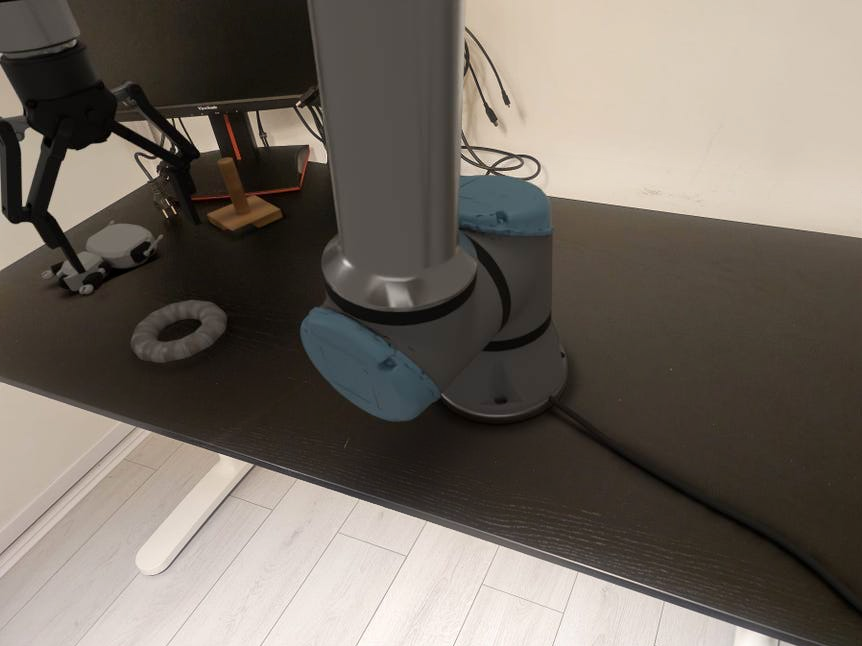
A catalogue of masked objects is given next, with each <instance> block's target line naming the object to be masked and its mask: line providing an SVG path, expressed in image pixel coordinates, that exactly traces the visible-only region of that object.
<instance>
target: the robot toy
mask: <svg viewBox="0 0 862 646" xmlns="http://www.w3.org/2000/svg"><path fill="white" fill-rule="evenodd" d="M163 238H164V234H160V235H159V236H158V237H157V239H155V238H154V236H153V233H152V232H151V231H150V230H148V229H147V228H145V227H143V226H141V225H137V224H130V223H115V220H111V221H110V222H109V224H108V225H107V226H106V227H103V228H102V229H101V230H100V231H98V232H96V233H95V234H93V235H91V236H90V237H88V238H87V242H86V244H85V249H86V251H85V250H83V251H81V252H79V253H76V255H77V256H78V258H79V260H80V261H81V263H82V265H83V266H84V268H85V270H86V272H85V273H82V274H80V275H79V274H78V272H77V271H76V270H75V269H74V268H73V267H72V266H71V264H70V263H69V261H68V259H67V260H63V261H60V262H57V263H55V264H52V265H50V269H48V270H44V271H43V272H42V273H41V277H42V279H43V280H44V281H49V280H52V279H53V278H54V277H56V278H57V279H58V280H57V283H58V285H59V287H60V288H61V289H63V290H67V291H68V290H71V292H77V291H79V292H78V293H79V294H81V295H90V294H91V293H92V292H94V290H99V288H100V287H101V286H102V285H103V284H104V279H105V278H106V277H107V276H109V274H110V272H111V270H112V269H130V268H134V267H137V266H141V265H143V264H145V263H146V262H147V261H148V260H149V258H150V257H151V256H154V254H155V253H156V251H157V249H158V243H159V242H160V240H162V239H163Z"/></svg>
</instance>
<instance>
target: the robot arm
mask: <svg viewBox="0 0 862 646" xmlns="http://www.w3.org/2000/svg"><path fill="white" fill-rule="evenodd" d="M306 4H307V11H308V12H307V13H308V19H309V26H310V27H309V28H310V34H311V41H312V49H313V55H314V56H313V57H314V64H315V71H316V79H317V85H318V93H319V94H318V95H319V101H320V107H321V113H322V114H321V115H322V122H323V129H324V137H325V144H326V145H325V146H326V151H327V159H328V160H327V161H328V167H329V172H330V174H329V175H330V181H331V189H332V195H333V196H332V197H333V203H334V204H333V205H334V211H335V219H336V224H337V226H336V227H337V233H336V234H335V235H333V237H332V238H331V239H330V240H329V241H328V242H327V244H326V246H325V247H324V250H323V252H322V256H321V271H322V277H323V285H324V290H325V300H324V301H323V303H322V304H321V305H320V306H314V307H313V308H312V309H311V310H310V311H309V312H308V315H307V316H306V317H304V319H303V321H302V322H301V325H300V328H299V329H300V330H299V332H300V339H301V343H302V346H303V348H304V350H305V352H306V354H307V356H308V358H309V360H310V361H311V363H312V365H314V367H315V368H316V370H317V371H318V372H319V373H320V375H321V376H322V377H323V378H324V379H325V380H326V381H327V382H328V383H329V385H331V386H332V387H333V389H335V390H336V392H338V393H339V394H340V395H342V397H344V398H345V399H347V400H348V401H349V402H350V403H351V404H353V405H355V407H358V408H359V409H361V410H362V411H364V412H365V413H367V414H370V415H372V416H374V417H375V418H378V419H381V420H385V421H389V422H393V423H395V422H397V423H398V422H409V421H412V420H413V419H415V418H417V417H419V416H420V415H421V414H422V413H423V412H424V411H425V410H426V409H427V408H428V407H429V406H430V405H431V404H432V403H436V402H437V401H439V400H440V401H441V402H442V403H443V405H444V406H445V407H447V408H448V409H449V410H450V411H451V412H453V413H455V414H456V415H458V416H460V417H461V418H464V419H467V420H470V421H473V422H477V423H478V422H479V423H481V424H494V425H496V424H497V425H500V424H501V425H502V424H503V425H504V424H512V423H518V422H521V421H525V420H529V419H531V418H534V417H536V416H538V415H540V414H542V413H543V412H545V411H547V410H548V409H549V408H551V407H553V406H554V407H555V408H557V409H558V410H560V411H561V412H562V413H564V414H565V415H566V416H567V417H569V418H571V419H572V420H574V421H575V422H576V423H578V424H579V425H580V426H581V427H583V428H584V429H585V430H587V432H589V433H591V434H592V435H593V436H594V437H596V438H597V439H599V440H600V441H601V442H603V443H604V444H605V445H607V446H608V447H610V448H611V449H612V450H614V451H616V452H617V453H618V454H620V455H621V456H623V457H624V458H626V459H628V460H629V461H631V462H632V463H634V464H636V465H638V466H639V467H641V468H642V469H644V470H646V471H647V472H649V473H651V474H653V475H654V476H656V477H657V478H659V479H661V480H663V481H665V482H667V483H668V484H670V485H671V486H673V487H675V488H677V489H679V490H681V491H682V492H684V493H686V494H688V495H689V496H691V497H692V498H694V499H696V500H698V501H700V502H702V503H703V504H705V505H707V506H708V507H711V508H713V509H715V510H716V511H718V512H720V513H722V514H723V515H727V516H729V517H730V518H732V519H734V520H735V521H738V522H740V523H742V524H744V525H745V526H748V527H750V528H752V529H753V530H755V531H757V532H758V533H760V534H762V535H764V536H766V537H767V538H769V539H770V540H772V541H773V542H776V543H777V544H778V545H780V546H781V547H782V548H784V549H785V550H787V551H789V552H790V553H792V554H793V555H794V556H796V557H797V558H799V559H800V560H801V561H803V562H804V563H805V564H806V565H808V567H810V568H811V569H813V571H815V572H816V573H817V574H818V575H819V576H820V577H822V578H823V579H824V580H825V581H826V582H827V583H828V584H829V585H830V586H831V587H832V588H833V589H835V591H837V592H838V593H839V594H840V595H841V596H842V597H844V599H846V600H847V601H848V602H849V603H850V604H851V605H853V606H854V607H855V608H856V609H857V610H858V611H860V612H861V613H862V599H861V598H860V597H859V596H858V595H857V594H855V593H854V592H853V591H852V590H851V589H850V588H849V587H847V586H846V584H844V583H843V582H842V581H841V580H840V579H839V578H838V577H836V576H835V575H834V574H833V573H832V572H831V571H830V570H829V569H828V568H826V567H825V566H824V565H823V564H821V562H819V561H818V560H817V559H816V558H814V557H813V556H812V555H811V554H809V553H807V552H806V551H805V550H804V549H803V548H801V547H799V545H797V544H795V543H794V542H793V541H791V540H790V539H788V538H786V537H785V536H783V535H781V534H780V533H779V532H777V531H775V530H773V529H771V528H770V527H768V526H766V525H765V524H763V523H761V522H759V521H757V520H756V519H754V518H752V517H750V516H748V515H746V514H744V513H742V512H740V511H738V510H737V509H734V508H732V507H731V506H728V505H726V504H724V503H722V502H721V501H719V500H717V499H714V498H712V497H711V496H709V495H707V494H705V493H704V492H702V491H700V490H698V489H696V488H694V487H693V486H691V485H689V484H687V483H686V482H684V481H682V480H680V479H679V478H677V477H675V476H674V475H671V474H669V473H668V472H666V471H664V470H662V469H661V468H659V467H657V466H655V465H654V464H652V463H650V462H649V461H647V460H645V459H644V458H642V457H640V456H638V455H637V454H635V453H633V452H632V451H630V450H629V449H628V448H626V447H624V446H623V445H621V444H619V443H618V442H616V441H615V440H614V439H612V438H611V437H609V436H608V435H606V434H605V433H604V432H602V431H601V430H600V429H598V428H597V427H596V426H594V425H593V424H592V423H591V422H589V421H588V420H587V419H586V418H584V417H583V416H581V415H580V414H578V413H577V412H576V411H575V410H573V409H572V408H570V407H569V406H567V405H566V404H565V403H563V402H562V401H560V400H559V399H560V398H561V396H562V395H563V393H564V391H565V389H566V387H567V383H568V373H569V370H568V369H569V363H568V358H567V353H566V351H565V348H564V346H563V344H562V342H561V340H560V337H559V334H558V331H557V328H556V326H555V323H554V321H553V319H552V318H553V317H552V310H553V309H552V307H553V303H552V302H553V243H554V242H553V239H554V238H553V235H554V233H555V225H554V224H553V217H552V213H553V212H552V203H551V200H550V197H549V196H548V195H547V194H546V193H545V192H544V191H543V190H542V189H541V188H540V187H539V186H537V185H536V184H534V183H532V182H529V181H527V180H525V179H521V178H517V177H512V176H507V175H499V174H497V175H496V174H475V175H464V176H461V169H462V167H461V166H462V134H463V133H462V132H463V107H464V106H463V103H464V77H465V76H464V74H465V73H464V72H465V43H466V42H465V40H466V12H467V11H466V10H467V9H466V8H467V6H466V5H467V0H306ZM81 33H82V31H81V30H80V27H79V25H78V22H77V21H76V19H75V15H74V14H73V12H72V9H71V8H70V6H69V3H68V1H67V0H0V54H2V55H1V56H0V67H1V69H2V70H3V72H4V74H5V76H6V78H7V79H8V81H9V83H10V85H11V87H12V89H13V91H14V92H15V94H16V96H17V98H18V100H19V102H20V104H21V106H22V115H15V116H8V117H3V116H0V201H1V203H0V206H1V207H0V208H1V213H2V214H3V216H4V217H5V218H6V220H8V222H9V223H10V224H12V225H19V224H21V223H28V224H29V223H30V224H32V226H33V227H34V229H35V231H36V232H37V233H38V235H39V237H40V238H41V240H42V242H43V243H44V244H45V245H46V246H47V247H48V248H49V249H51V250H52V251H53V250H55V249H58V248H60V249H61V251H62V253H63V254H64V256H65V258H66V259H67V260H68V261H69V263H70V264H71V266H72V267H73V268H74V269H75V270H76V271H77V272H78V274H79V275H80V274H82V273H85V272H86V270H85V268H84V266H83V265H82V263H81V261H80V260H79V258H78V256H77V253H76V251H75V249H74V248H73V246H72V244H71V243H70V241H69V239H68V238H67V235H66V234H65V232H64V230H63V229H62V227H61V225H60V224H59V222H58V221H57V219H56V218H55V216H54V215H52V214H51V212H50V211H48V210H49V207H50V203H51V201H52V197H53V193H54V189H55V187H56V182H57V181H58V180H57V179H58V176H59V172H60V170H61V166H62V162H64V160H65V159H66V157H67V156H66V155H67V152H68V150H71V151H72V150H73V151H75V152H76V151H77V152H78V151H81V150H84V149H87V147H90V146H91V145H96V144H97V145H98V144H103V143H106V142H108V139H109V138H110V137H111V135H112V134H114V135H116V136H118V137H119V138H121V139H123V140H125V141H127V142H128V143H131V144H132V145H135V146H136V147H138V148H140V149H142V150H143V151H145V152H147V153H149V154H151V155H153V156H154V157H156V158H158V159H160V160H162V161H164V162H165V163H167V164H169V165H171V166H168V167H166V168H164V170H165V172H166V175H167V177H168V179H169V182H170V184H171V187H172V189H173V191H174V193H175V196H176V198H177V201H178V203H179V205H180V207H181V210H182V212H183V215H184V217H185V219H186V220H187V221H188V222H189V223H191V224H192V225H194V226H195V227H196V226H199V225H202V221H201V218H200V216H199V213H198V211H197V208H196V205H195V203H194V201H193V198H192V196H193V195H195V194H197V187H196V184H195V181H194V179H193V177H192V174H191V171H190V170H191V168H192V166H191V163H192V162H193V161H194V160H198V159H200V157H201V152H200V150H199V149H198V148H197V147H196V146H195V145H194V144H193V143H192V142H191V141H190V140H188V138H186V137H185V135H184V134H182V133H181V132H180V131H179V130H178V129H177V128H176V127H175V126H174V125H173V124H172V123H171V122H170V121H169V120H168V119H167V118H166V117H165V116H164V115H163V114H162V113H161V112H159V110H157V109H156V107H154V106H153V105H152V104H151V102H150V101H149V98H148V96H147V95H146V94H145V92H144V89H143V88H142V86H141V85H139V84H138V83H136V82H134V81H132V80H130V79H124V80H122V81H121V83H120V85H119V86H117V87H114V88H113V89H109V88H108V87H107V86H106V83H104V82H105V81H104V80H103V78H102V76H101V73H100V71H99V69H98V67H97V64H96V63H95V60H94V58H93V56H92V54H91V51H90V48H89V47H88V45H87V44H86V43H84V42H83V41H82V40H79V39H78V38H80V35H81ZM119 102H122V104H124V105H125V106H127V107H129V108H134V109H135V110H136V111H137V112H138V113H139V114H140V115H141V116H142V117H144V119H146V121H148V122H149V123H150V124H151V125H152V126H153V127H154V128H155V129H156V130H157V131H159V133H161V135H163V136H164V137H165V138H166V139H167V140H168V141H169V142H170V143H172V145H174V146H175V148H177V149H178V151H177V152H175V153H174V152H172V151H170V150H168V149H166V148H165V147H163V146H161V145H159V144H158V143H156V142H154V141H152V140H150V139H149V138H147V137H145V136H143V135H142V134H140V133H139V132H136V131H134V130H133V129H131V128H129V127H128V126H126V125H124V124H122V123H120V122H119V121H117V120H116V115H117V111H118V106H119V104H118V103H119ZM29 128H30V129H32V130H33V131H35V132H36V133H38V134H40V135H42V139H41V143H40V149H39V150H40V152H39V153H40V154H39V156H38V159H37V163H36V167H35V170H34V174H33V177H32V181H31V184H30V188H29V191H28V195H27V198H26V201H25V205H24V206H23V175H22V173H23V172H22V170H23V168H22V149H21V145H20V142H22V141H24V140H25V138H26V134H25V132H26V130H28V129H29Z"/></svg>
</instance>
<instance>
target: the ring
mask: <svg viewBox="0 0 862 646" xmlns="http://www.w3.org/2000/svg"><path fill="white" fill-rule="evenodd" d="M188 319H190V320H198V321H199V322H200V323H201V325H200V326H198V328H197V329H196V330H195V331H194V332H192V333H190V334H188V335H185V336H184V337H182V338H179V339H175V340H169V341H162V340H158V339H159V335H160V333H161V332H162V331H163V330H164V329H165V328H166V327H167V326H170V325H172V324H174V323H176V322H178V321H184V320H188ZM227 321H228V315H227V313H226V312H225V311H224V310H223V309H221V308H220V307H219V306H218V305H217V304H215V303H214V302H212V301H207V300H198V299H197V300H196V299H188V300H184V301H183V300H182V301H178V302H174V303H170V304H166V305H165V306H162V307H161V308H159V309H156V310H155V311H152V312H150V313H149V314H148V315H146V317H145V318H144V319H142V320H141V321H140V322H139V323H138V324H137V325H136V326H135V327H134V330H133V333H132V336H131V340H130V348H131V350H132V352H133V353H134V354H135V355H136V357H138V359H140V360H141V361H146V362H153V363H158V364H159V363H160V364H164V363H168V362H173V361H179V360H183V359H187V358H190V357H192V356H194V355H196V354H197V353H200V352H201V351H204V350H206V349H208V348H209V347H211V346H212V345H214V344H215V342H217V340H218V339H219V338H220V337H221V336H222V335H223V334H224V333H225V332H226V330H227Z"/></svg>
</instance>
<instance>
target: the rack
mask: <svg viewBox="0 0 862 646" xmlns="http://www.w3.org/2000/svg"><path fill="white" fill-rule="evenodd" d="M216 162H217V165H218V168H219V171H220V174H221V176H222V179H223V181H224V184H225V187H226V190H227V192H228V195H229V198H230V201H231V203H230V204H228V205H226V206H223V207H221V208H219V209H216V210H214V211H212V212H211V211H210V212H209V213H207V214H206V216H207V218H208V221H209V223H211V224H213V225H214V226H216V227H217V228H219V229H220V230H222V231H225V230H230V231H236V229H239V228H242V227H244V226H246V225H248V224H252V225H253V226H255V227H256V228H257V229H258V228H259V229H260V228H262V227H264V226H266V225H268V224H271V223H273V222H275V221H277V220H280V219H282V218H283V213H282V211H281V208H279V207H277V206H276V205H274V204H272V203H270V202H268V201H266V200H265V199H263V198H261V197H259V196H257V195H256V194H252V195H250V196H246V193H245V190H244V187H243V184H242V181H241V179H240V176H239V173H238V169H237V167H236V164H235V162H234V158H233V157H229V156H227V157H226V156H225V157H223V158H222V157H221V158H220V159H218V160H217V161H216Z"/></svg>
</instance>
